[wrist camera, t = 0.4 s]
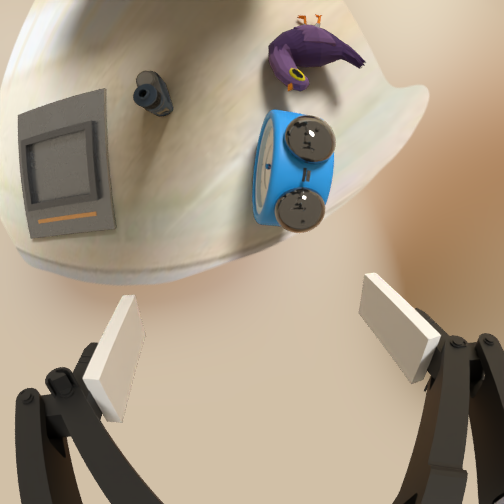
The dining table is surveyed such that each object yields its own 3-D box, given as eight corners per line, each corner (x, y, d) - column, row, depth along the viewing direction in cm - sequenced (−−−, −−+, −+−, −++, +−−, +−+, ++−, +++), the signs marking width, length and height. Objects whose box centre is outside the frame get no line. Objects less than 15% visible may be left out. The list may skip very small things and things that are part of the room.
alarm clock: (260, 115, 35) (286, 96, 21) (304, 122, 36) (353, 112, 22) (248, 209, 40) (265, 246, 26) (291, 214, 41) (330, 251, 27)
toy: (348, 72, 34) (370, 66, 28) (279, 99, 35) (291, 95, 29) (315, 10, 29) (331, -5, 23) (243, 34, 31) (248, 18, 25)
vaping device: (157, 120, 34) (133, 110, 23) (147, 86, 32) (120, 64, 21) (176, 113, 34) (158, 99, 23) (165, 79, 32) (144, 53, 21)
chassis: (20, 115, 29) (13, 115, 28) (106, 89, 31) (101, 86, 29) (33, 236, 36) (27, 240, 35) (116, 227, 38) (111, 231, 36)
